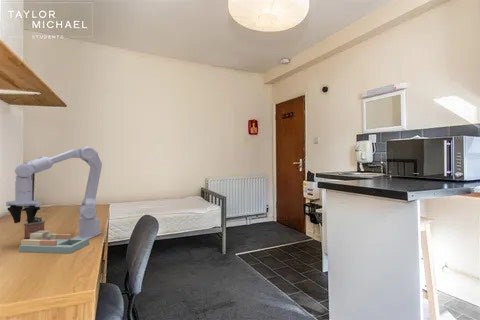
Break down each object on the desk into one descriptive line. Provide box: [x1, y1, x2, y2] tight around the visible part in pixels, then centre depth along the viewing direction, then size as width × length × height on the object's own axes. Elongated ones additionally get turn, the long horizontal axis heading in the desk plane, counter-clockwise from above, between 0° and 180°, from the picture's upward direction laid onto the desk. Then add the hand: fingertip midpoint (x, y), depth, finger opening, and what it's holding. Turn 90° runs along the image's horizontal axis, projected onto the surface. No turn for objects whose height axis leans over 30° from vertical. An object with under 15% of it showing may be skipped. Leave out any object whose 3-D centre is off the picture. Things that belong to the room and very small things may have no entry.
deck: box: [18, 233, 90, 254], centre depth 114 cm, size 12×22×4 cm, turn 86°
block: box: [29, 230, 51, 240], centre depth 115 cm, size 5×5×4 cm
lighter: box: [23, 216, 46, 240], centre depth 129 cm, size 8×3×10 cm, turn 141°
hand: (23, 222), depth 115 cm, fingers open, 5 cm apart
